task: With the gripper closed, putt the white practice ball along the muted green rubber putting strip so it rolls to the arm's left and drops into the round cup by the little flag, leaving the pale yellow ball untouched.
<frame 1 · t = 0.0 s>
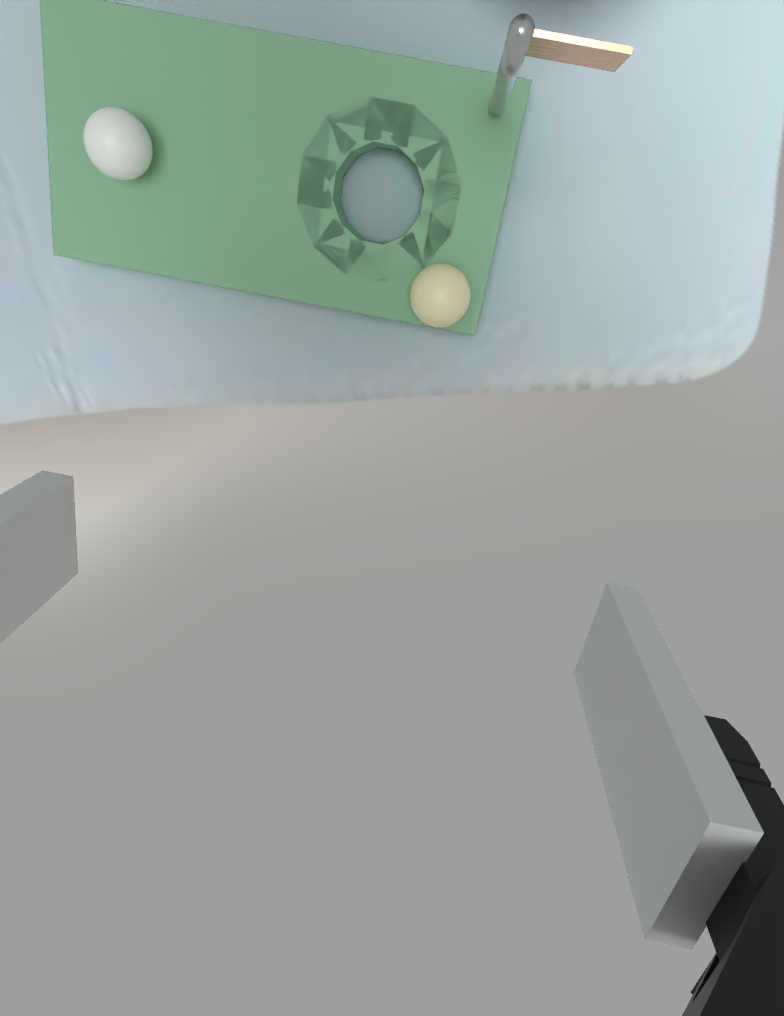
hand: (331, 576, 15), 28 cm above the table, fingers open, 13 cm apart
yellow ball: (440, 295, 35), point 4 cm above the table, touching green
green: (284, 178, 37), on the table
flag: (493, 116, 35), resting on green
ball: (118, 144, 33), point 4 cm above the table, touching green
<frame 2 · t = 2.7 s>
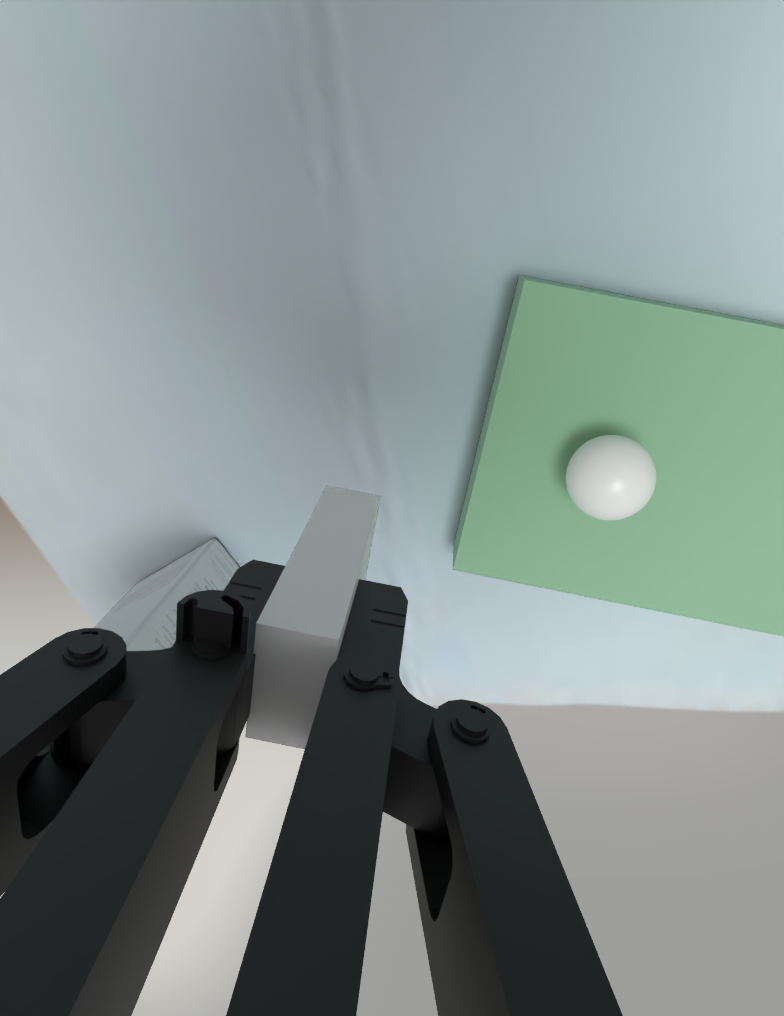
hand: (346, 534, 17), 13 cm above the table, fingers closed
skincare box: (201, 582, 34), on the table
green: (763, 477, 28), on the table
ball: (610, 477, 25), point 4 cm above the table, touching green
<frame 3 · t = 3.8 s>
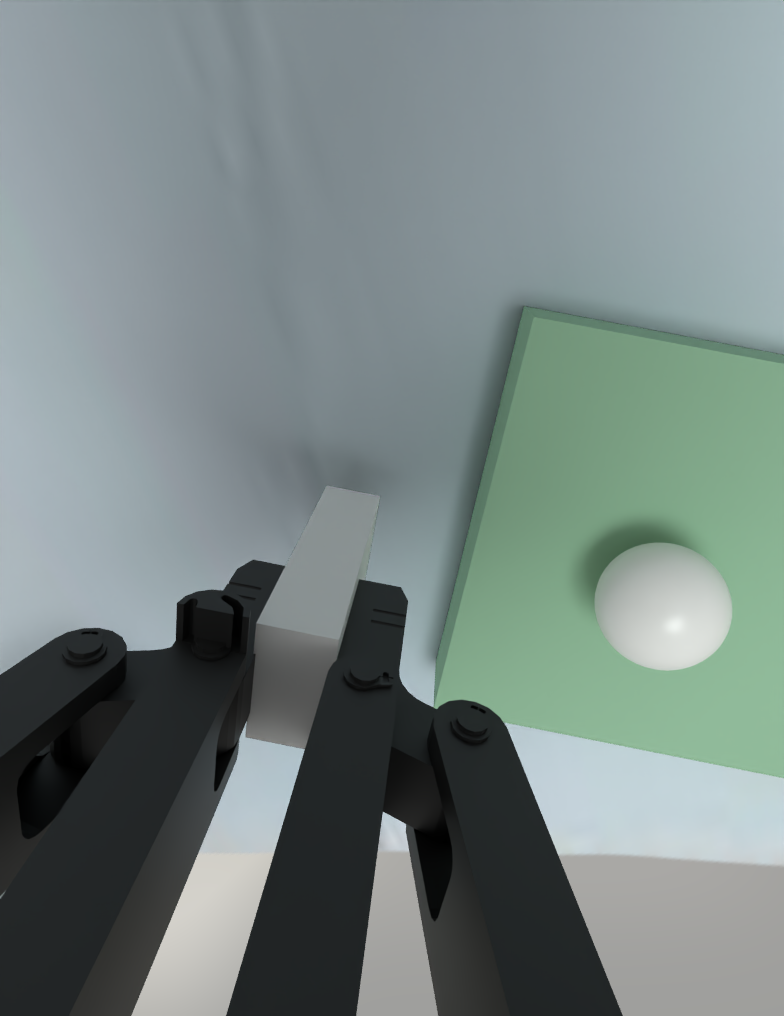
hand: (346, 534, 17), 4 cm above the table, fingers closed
ball: (660, 605, 17), point 4 cm above the table, touching green
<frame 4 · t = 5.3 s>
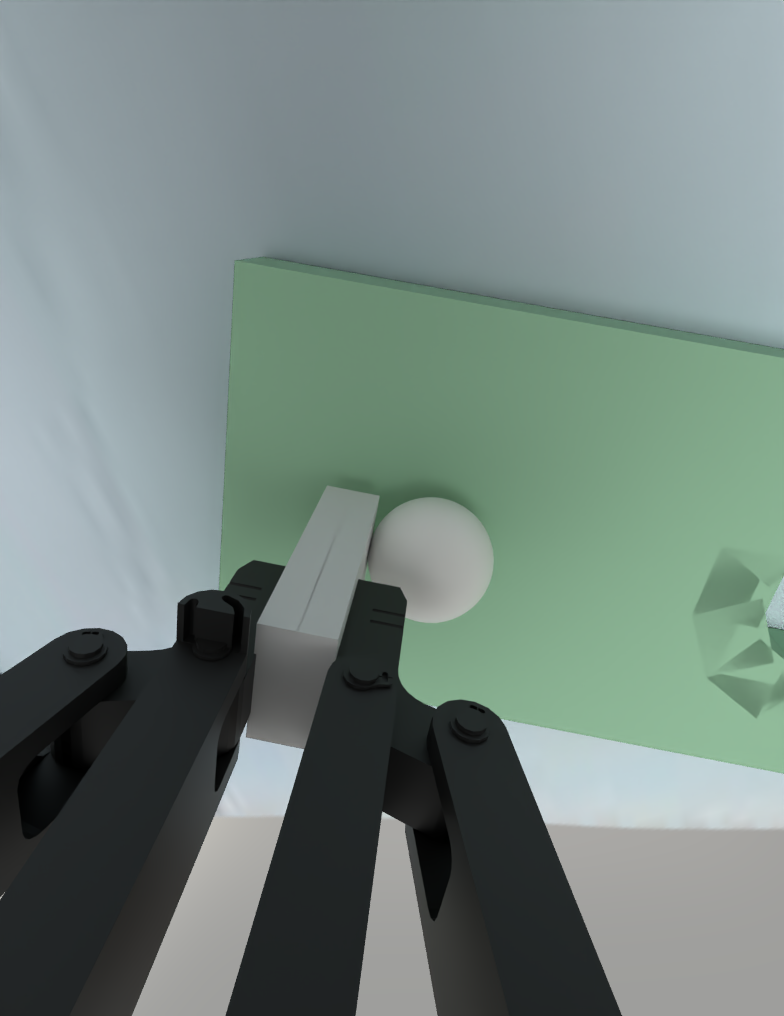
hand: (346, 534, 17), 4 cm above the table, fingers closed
green: (633, 534, 21), on the table
ball: (430, 559, 17), point 4 cm above the table, tilted 44°, touching green, gripper
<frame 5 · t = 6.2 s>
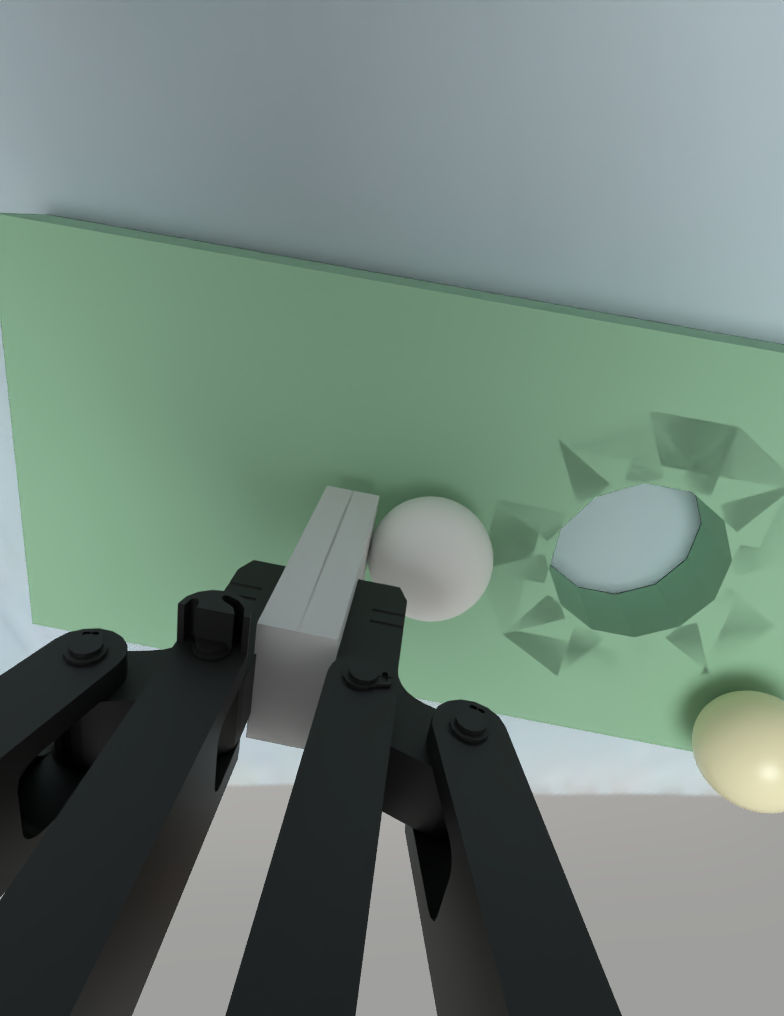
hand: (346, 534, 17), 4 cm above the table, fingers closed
yellow ball: (755, 749, 18), point 4 cm above the table, touching green
green: (440, 494, 21), on the table
ball: (430, 558, 17), point 4 cm above the table, tilted 133°, touching green, gripper
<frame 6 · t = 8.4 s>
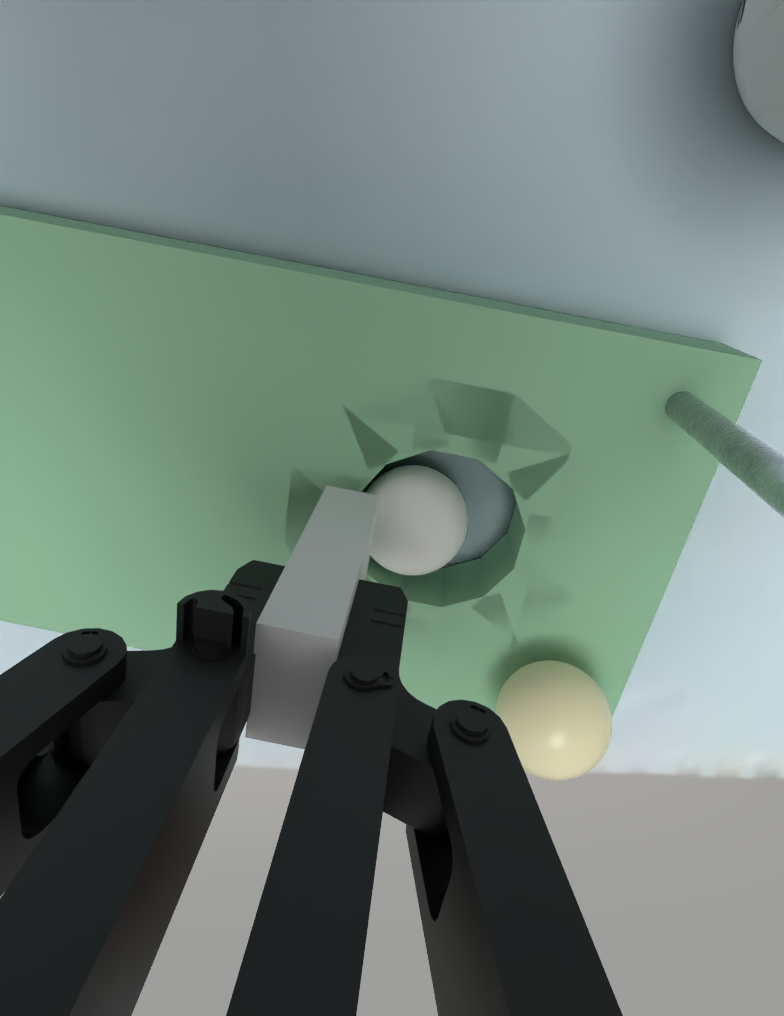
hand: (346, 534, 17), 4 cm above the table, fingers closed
yellow ball: (552, 718, 19), point 4 cm above the table, touching green
green: (262, 465, 21), on the table
flag: (653, 384, 18), resting on green
ball: (412, 520, 19), point 2 cm above the table, tilted 67°
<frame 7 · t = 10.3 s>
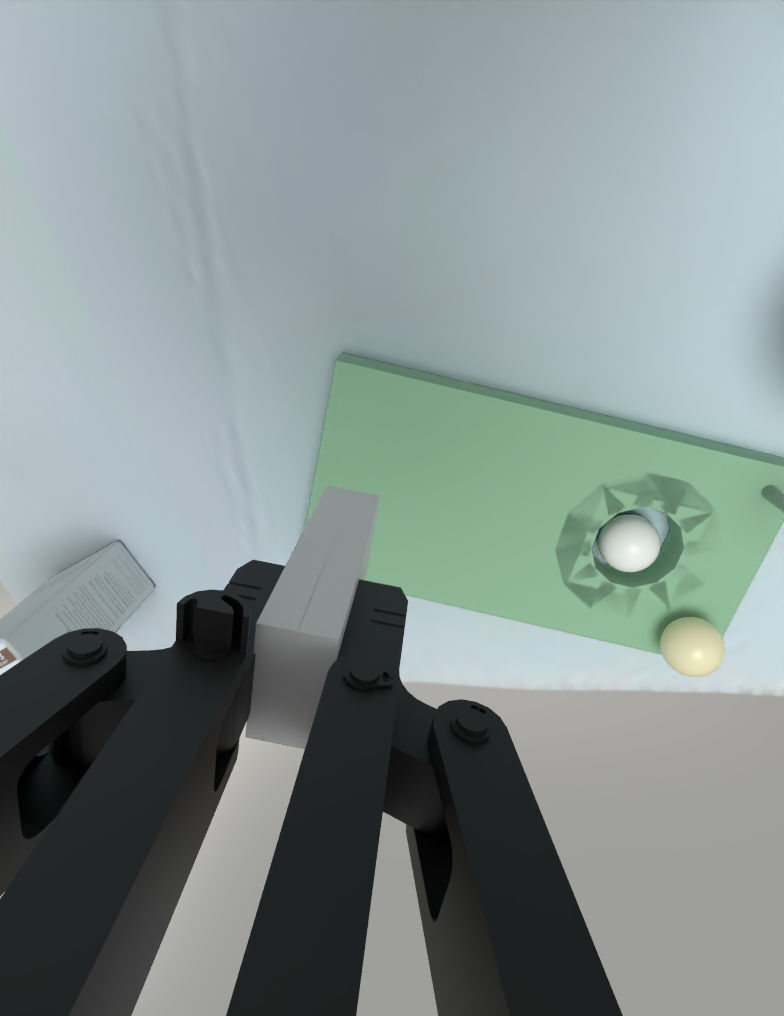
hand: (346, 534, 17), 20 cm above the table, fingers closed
yellow ball: (692, 646, 36), point 4 cm above the table, touching green
skincare box: (108, 576, 42), on the table
green: (530, 507, 38), on the table
flag: (748, 476, 36), resting on green
ball: (628, 543, 36), point 2 cm above the table, tilted 85°
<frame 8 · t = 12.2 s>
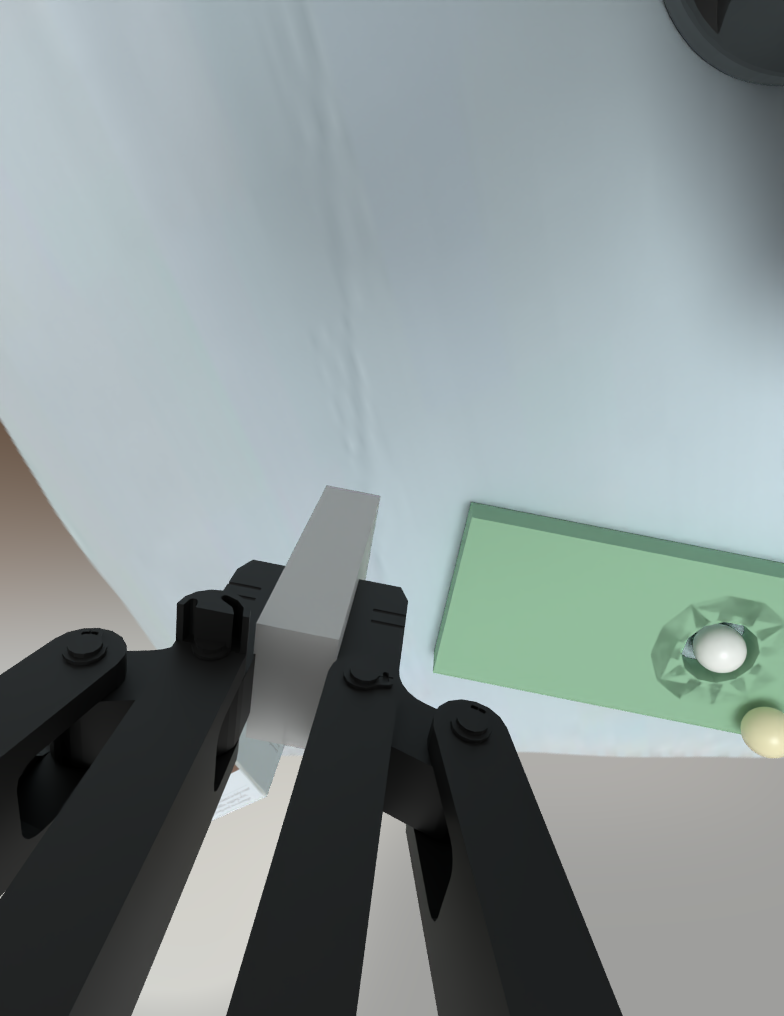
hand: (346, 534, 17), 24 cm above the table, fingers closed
yellow ball: (768, 732, 43), point 4 cm above the table, touching green
skincare box: (266, 672, 51), on the table
green: (626, 615, 45), on the table
ball: (719, 648, 44), point 2 cm above the table, tilted 102°
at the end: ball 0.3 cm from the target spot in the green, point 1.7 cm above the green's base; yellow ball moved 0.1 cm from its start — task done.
